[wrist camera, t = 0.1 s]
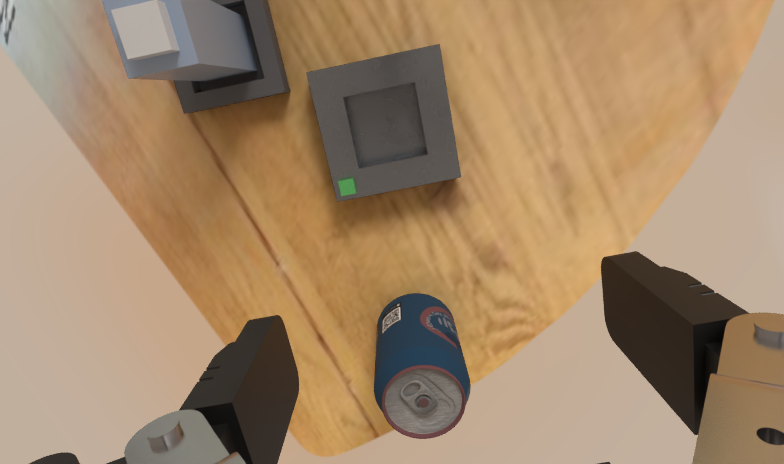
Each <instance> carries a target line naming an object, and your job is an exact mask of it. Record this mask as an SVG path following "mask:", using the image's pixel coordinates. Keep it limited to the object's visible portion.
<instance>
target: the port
mask: <svg viewBox="0 0 784 464" xmlns="http://www.w3.org/2000/svg"><path fill="white" fill-rule="evenodd" d="M307 77H308V82H309V86H310V90H311V94H312V98H313V102H314V106H315V111H316V115H317V119H318V123H319V127H320V131H321V136H322V140H323V144H324V148H325V152H326V156H327V161H328V165H329V169H330V173H331V177H332V181H333V186H334V190H335V194H336V198H337V202H339V201H344V200H349V199H354V198H359V197H364V196H369V195H374V194H379V193H384V192H389V191H394V190H399V189H404V188H409V187H414V186H419V185H425V184H430V183H435V182H440V181H445V180H450V179H455V178H460V177H461V173H460V167H459V161H458V155H457V149H456V142H455V136H454V130H453V124H452V118H451V112H450V105H449V99H448V93H447V87H446V81H445V75H444V69H443V62H442V56H441V50H440V44H437V45H433V46H428V47H423V48H419V49H414V50H409V51H405V52H400V53H395V54H391V55H386V56H381V57H377V58H372V59H367V60H363V61H358V62H353V63H349V64H344V65H339V66H335V67H330V68H325V69H321V70H316V71H311V72H307Z"/></svg>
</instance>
